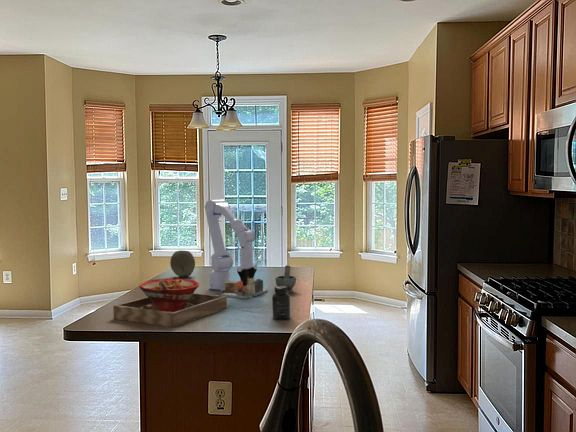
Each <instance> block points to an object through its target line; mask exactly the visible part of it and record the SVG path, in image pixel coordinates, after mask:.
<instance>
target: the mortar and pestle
mask: <svg viewBox="0 0 576 432" xmlns="http://www.w3.org/2000/svg"><path fill="white" fill-rule="evenodd" d="M291 267H292V266H290V265H285V266H284V274H283V275H279V276H276V277H275V284H276V286H286V287H287V290H288V292H287V293H288V294H289V293H293V288H294V287H295V285H296V283H297V277H296V276H294V275H291Z"/></svg>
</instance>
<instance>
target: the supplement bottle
mask: <svg viewBox="0 0 576 432" xmlns="http://www.w3.org/2000/svg"><path fill="white" fill-rule="evenodd" d="M287 292H288V290H287V287H286V286H277V285H276V286H275V287H274V294H272V297H271V298H272V299H271V300H272V302H271V303H272V305H271V306H272V307H271V308H272V309H271V311H272V318H273V319H274V320H278V321H286V320H289V319H290V318H291V296H290V294H289V293H287Z"/></svg>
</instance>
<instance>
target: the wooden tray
mask: <svg viewBox="0 0 576 432" xmlns="http://www.w3.org/2000/svg"><path fill="white" fill-rule="evenodd" d="M227 299H228V297H227V296H220V294H219V295H217V294H208V293H199V292H194V293H193V294H192V296H191V297H190V299H189V300H188V301H187V302H186V303H189V304H193V305H194V306H192V305H191V306H190V305H189V304H188V305H187V306H189V307H187V308H185V309H182V310H179V311H176V312H166V311H158V310H150V309H142V308H139V307H142V306H143V305H146V304H150V303H152V301H151V299H150V298H149V297H148V296H146V297H141V298H138V299H134V300H130V301H127V302H126V301H125V302H122V303H117V304H113V307H112V308H113V319H114V320H121V321H127V320H128V322H134V321H135V322H134V323H141V322H142V324H148V325H149V324H150V325H156V326H161V325H162V326H164V327H168V326H169V328H175V326H176V327H178V325H179V326H181V324H182V325H184V324H187V323H190V322H192V320H193V321H195V320H194V319H196V320H198V319H200V317H201V318H203V316H204V317H206V316H205V315H207V316H208V315H212V314H214V313H218V312H221V311H223V310H226V309H228V304H227V302H228V300H227ZM211 313H212V314H211ZM197 318H198V319H197ZM189 321H190V322H189ZM186 322H187V323H186Z"/></svg>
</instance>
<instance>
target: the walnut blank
mask: <svg viewBox="0 0 576 432" xmlns="http://www.w3.org/2000/svg"><path fill="white" fill-rule="evenodd" d="M235 291H237V280H233V281H232V280H231V281H227V282H226V283H225V293H233V294H234V292H235Z"/></svg>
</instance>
